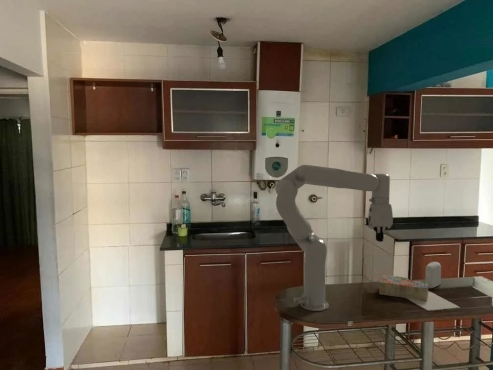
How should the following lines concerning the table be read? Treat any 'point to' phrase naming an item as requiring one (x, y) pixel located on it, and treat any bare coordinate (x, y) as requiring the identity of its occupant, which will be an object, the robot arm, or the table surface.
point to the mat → (434, 303)
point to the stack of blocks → (403, 287)
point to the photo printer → (433, 274)
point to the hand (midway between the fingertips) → (379, 240)
